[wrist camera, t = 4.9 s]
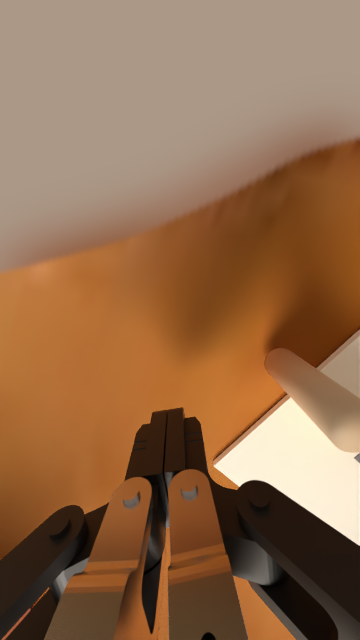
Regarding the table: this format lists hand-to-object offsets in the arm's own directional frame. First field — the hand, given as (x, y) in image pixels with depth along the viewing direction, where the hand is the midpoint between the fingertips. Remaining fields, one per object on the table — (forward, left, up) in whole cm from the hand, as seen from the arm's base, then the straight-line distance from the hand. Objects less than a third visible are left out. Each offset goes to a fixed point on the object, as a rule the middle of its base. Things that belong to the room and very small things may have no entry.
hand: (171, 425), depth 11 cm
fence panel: (-7, -6, -3) cm, 9 cm away
